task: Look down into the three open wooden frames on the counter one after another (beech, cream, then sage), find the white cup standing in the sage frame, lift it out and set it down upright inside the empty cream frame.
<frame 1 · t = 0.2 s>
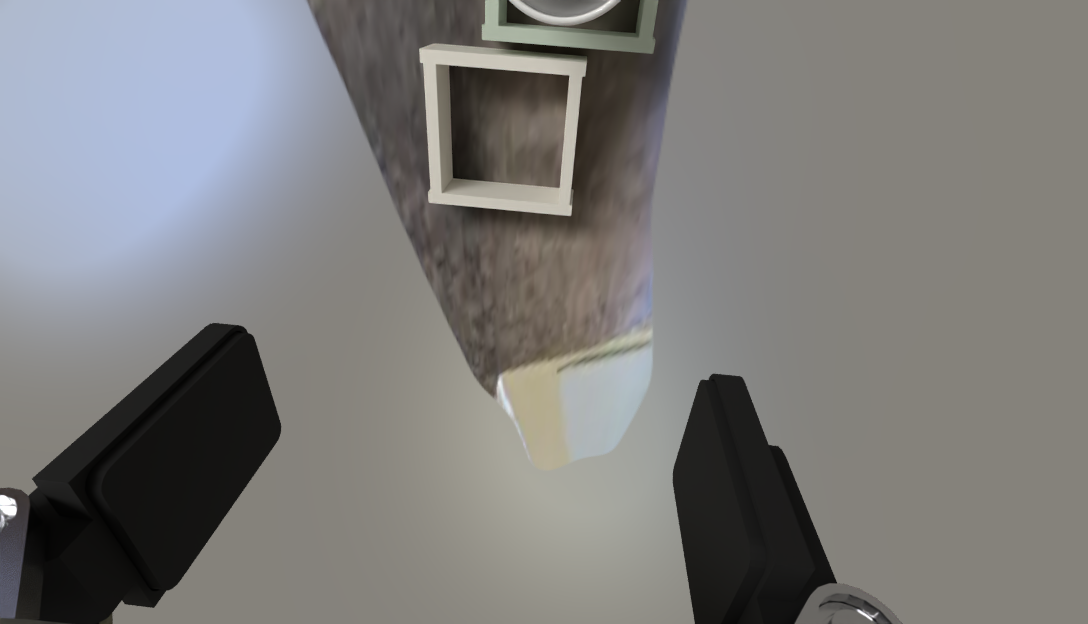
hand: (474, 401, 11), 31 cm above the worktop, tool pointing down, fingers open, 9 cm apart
frame C cream: (508, 126, 37), on the worktop
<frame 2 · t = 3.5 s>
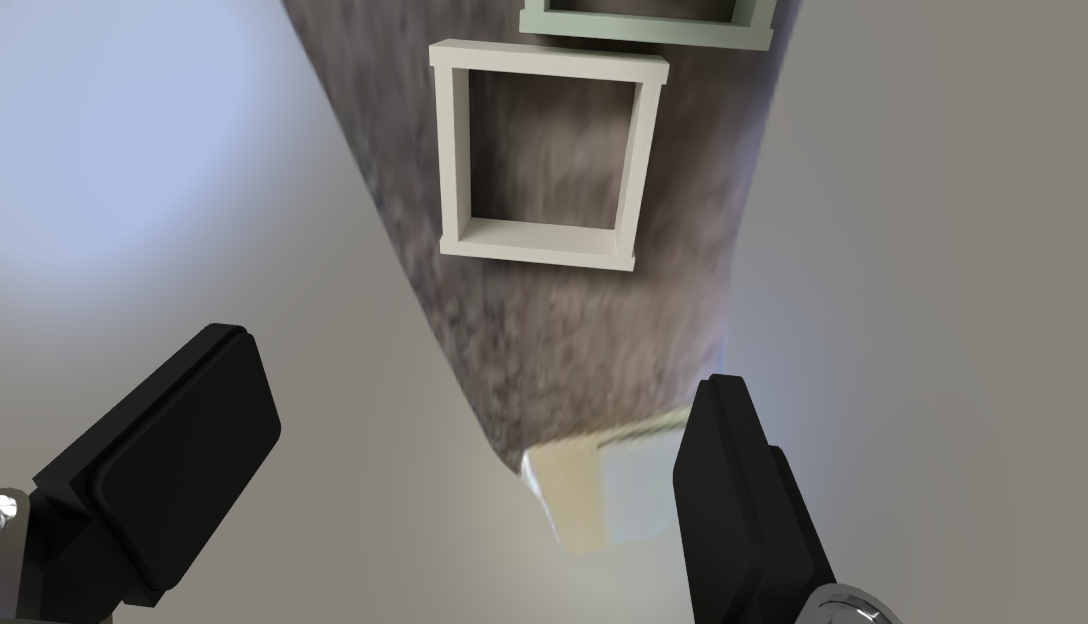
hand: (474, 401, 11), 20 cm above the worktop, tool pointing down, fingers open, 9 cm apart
frame C cream: (547, 150, 28), on the worktop
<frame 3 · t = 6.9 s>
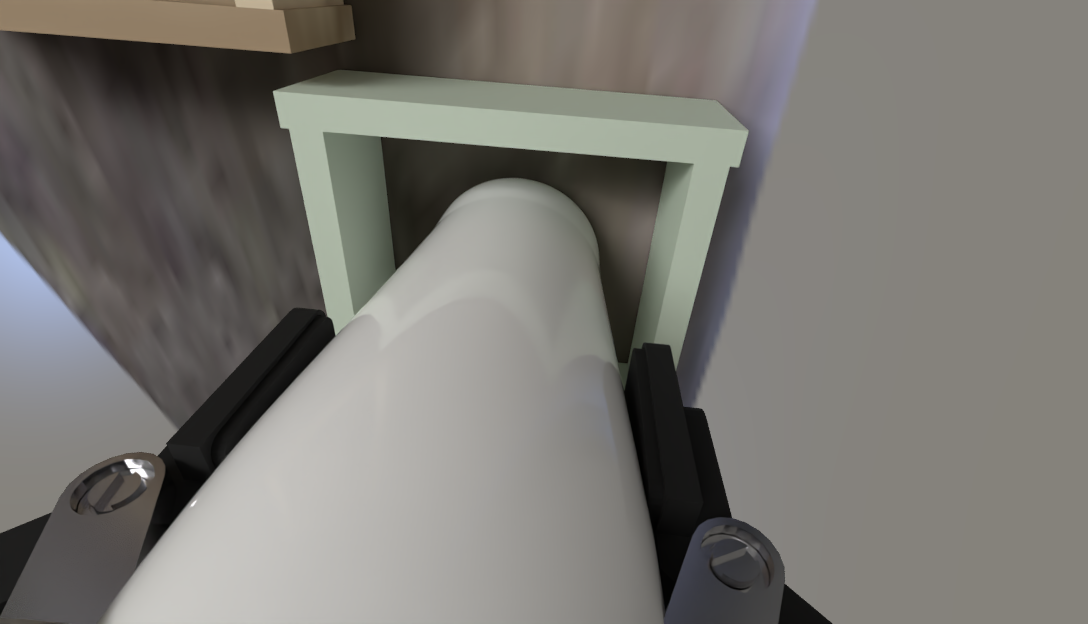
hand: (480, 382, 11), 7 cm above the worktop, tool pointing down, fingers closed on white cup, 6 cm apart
frame B sage: (518, 249, 17), on the worktop
white cup: (519, 247, 17), resting in frame B sage, touching gripper
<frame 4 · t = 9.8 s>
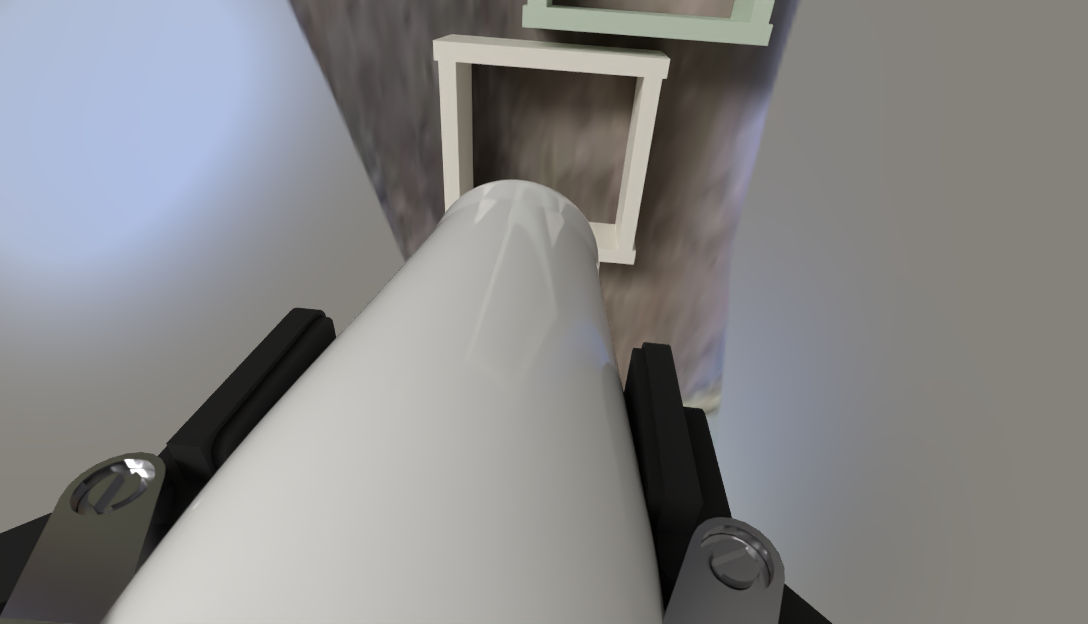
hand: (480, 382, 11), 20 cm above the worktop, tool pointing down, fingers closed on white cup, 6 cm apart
frame C cream: (548, 145, 28), on the worktop
white cup: (519, 249, 17), point 13 cm above the worktop, touching gripper
when the fingers open (8 cm above the worktop, at t = 12.8 s): white cup drops 1 cm, resting in frame C cream.
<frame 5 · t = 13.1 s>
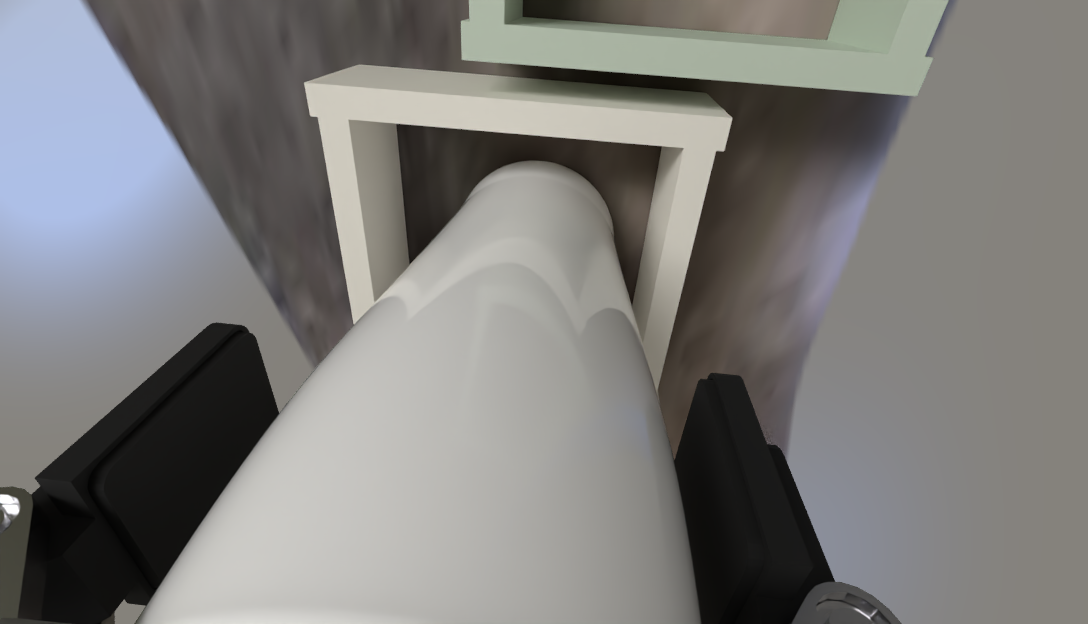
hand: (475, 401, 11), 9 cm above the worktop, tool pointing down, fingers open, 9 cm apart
frame C cream: (523, 233, 18), on the worktop
white cup: (538, 227, 18), resting in frame C cream
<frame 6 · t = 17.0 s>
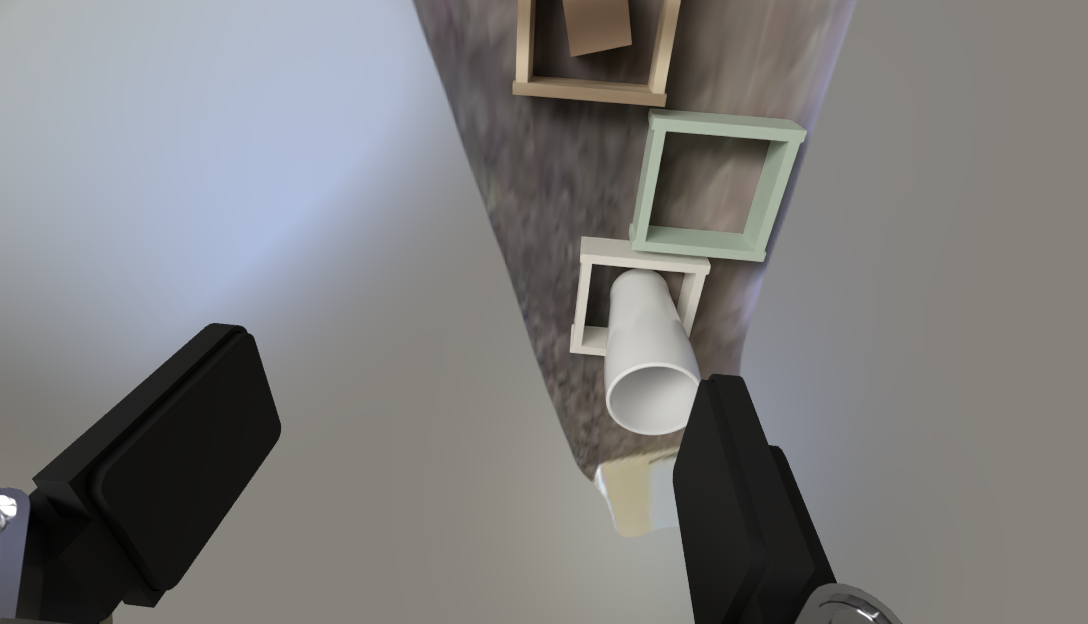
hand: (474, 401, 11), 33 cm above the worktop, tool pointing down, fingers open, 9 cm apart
frame A beech: (596, 13, 35), on the worktop
frame C cream: (633, 291, 47), on the worktop
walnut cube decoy: (596, 13, 35), resting in frame A beech
frame B sage: (703, 180, 41), on the worktop
white cup: (638, 289, 47), resting in frame C cream
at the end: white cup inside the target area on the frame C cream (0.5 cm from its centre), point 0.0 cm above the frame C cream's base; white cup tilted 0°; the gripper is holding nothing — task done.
